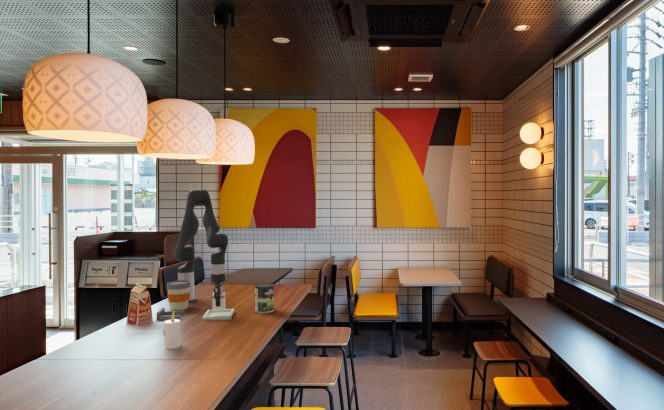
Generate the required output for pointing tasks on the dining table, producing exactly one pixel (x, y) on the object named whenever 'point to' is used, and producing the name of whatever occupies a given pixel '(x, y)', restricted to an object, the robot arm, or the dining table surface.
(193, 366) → the dining table surface
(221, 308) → the white banded brick
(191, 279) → the robot arm
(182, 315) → the grey holder
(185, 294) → the reusable coffee cup
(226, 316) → the tray
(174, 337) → the candle
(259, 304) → the coffee can
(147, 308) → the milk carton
